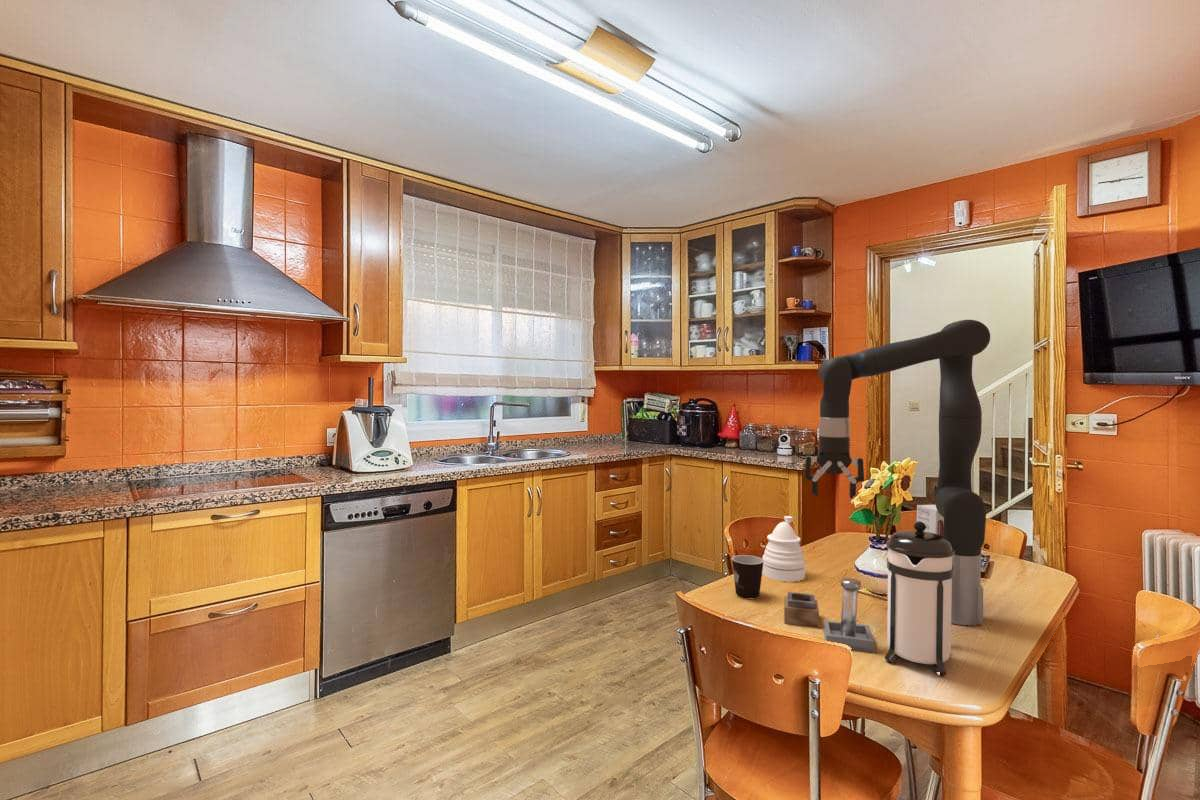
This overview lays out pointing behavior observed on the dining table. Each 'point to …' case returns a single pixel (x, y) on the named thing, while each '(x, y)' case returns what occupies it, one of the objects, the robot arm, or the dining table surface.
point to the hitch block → (801, 609)
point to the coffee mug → (747, 575)
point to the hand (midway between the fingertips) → (833, 496)
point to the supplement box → (930, 518)
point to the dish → (859, 642)
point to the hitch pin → (849, 606)
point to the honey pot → (784, 554)
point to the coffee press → (919, 597)
